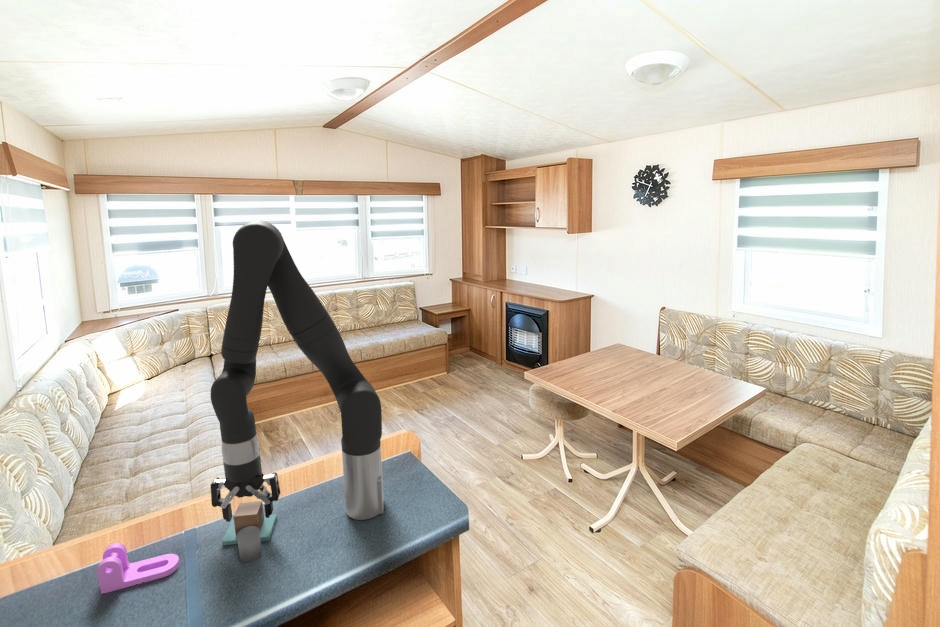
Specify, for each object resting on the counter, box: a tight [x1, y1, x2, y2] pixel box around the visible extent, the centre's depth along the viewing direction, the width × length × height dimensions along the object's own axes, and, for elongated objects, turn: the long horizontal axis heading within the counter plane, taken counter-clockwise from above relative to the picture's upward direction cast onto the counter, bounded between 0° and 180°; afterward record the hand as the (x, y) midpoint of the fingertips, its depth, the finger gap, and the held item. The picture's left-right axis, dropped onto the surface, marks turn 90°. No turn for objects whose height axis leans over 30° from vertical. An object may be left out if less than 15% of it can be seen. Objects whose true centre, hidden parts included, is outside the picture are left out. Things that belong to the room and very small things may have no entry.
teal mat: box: [221, 513, 278, 546], centre depth 112 cm, size 10×8×1 cm
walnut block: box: [232, 500, 265, 536], centre depth 112 cm, size 5×5×5 cm
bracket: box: [96, 542, 180, 595], centre depth 99 cm, size 13×6×7 cm, turn 114°
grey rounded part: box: [237, 526, 263, 563], centre depth 105 cm, size 4×4×6 cm
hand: (249, 517), depth 112 cm, fingers open, 8 cm apart
